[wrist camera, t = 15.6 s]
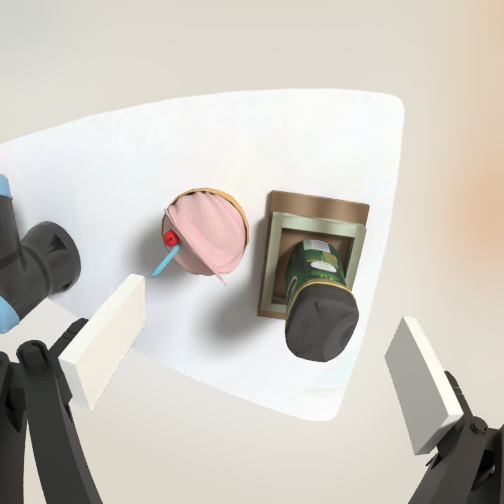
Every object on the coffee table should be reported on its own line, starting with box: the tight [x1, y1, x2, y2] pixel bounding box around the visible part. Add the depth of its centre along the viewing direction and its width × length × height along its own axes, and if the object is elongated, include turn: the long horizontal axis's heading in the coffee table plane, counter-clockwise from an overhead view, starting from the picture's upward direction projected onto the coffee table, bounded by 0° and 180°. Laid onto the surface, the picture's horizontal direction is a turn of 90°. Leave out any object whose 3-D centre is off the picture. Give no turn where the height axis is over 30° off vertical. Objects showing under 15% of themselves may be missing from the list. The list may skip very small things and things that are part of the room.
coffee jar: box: [285, 239, 359, 362], centre depth 41 cm, size 10×8×19 cm
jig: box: [257, 190, 370, 319], centre depth 49 cm, size 15×22×4 cm
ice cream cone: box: [150, 188, 249, 286], centre depth 39 cm, size 11×11×20 cm
